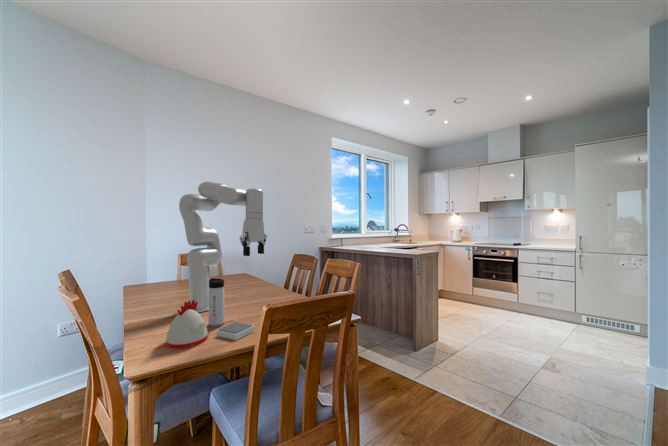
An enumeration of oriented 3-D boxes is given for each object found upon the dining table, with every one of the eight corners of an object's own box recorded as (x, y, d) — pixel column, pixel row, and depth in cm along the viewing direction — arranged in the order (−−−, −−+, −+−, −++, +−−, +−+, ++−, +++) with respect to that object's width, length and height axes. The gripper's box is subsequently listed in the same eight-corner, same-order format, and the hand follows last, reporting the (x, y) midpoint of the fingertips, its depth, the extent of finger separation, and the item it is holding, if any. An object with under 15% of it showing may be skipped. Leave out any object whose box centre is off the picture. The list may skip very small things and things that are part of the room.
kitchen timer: (215, 337, 108) (215, 298, 109) (184, 351, 96) (184, 308, 96) (190, 331, 114) (190, 295, 114) (157, 345, 101) (157, 304, 101)
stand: (216, 336, 109) (216, 329, 109) (235, 327, 118) (235, 321, 118) (236, 340, 105) (236, 333, 105) (254, 331, 114) (253, 325, 114)
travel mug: (217, 321, 126) (217, 277, 126) (227, 324, 122) (227, 278, 123) (205, 325, 120) (205, 279, 121) (214, 328, 117) (214, 281, 117)
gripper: (259, 217, 134) (259, 252, 134) (233, 216, 118) (233, 256, 118) (272, 217, 131) (272, 253, 131) (248, 216, 115) (247, 257, 115)
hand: (253, 254), depth 125 cm, fingers open, 9 cm apart
